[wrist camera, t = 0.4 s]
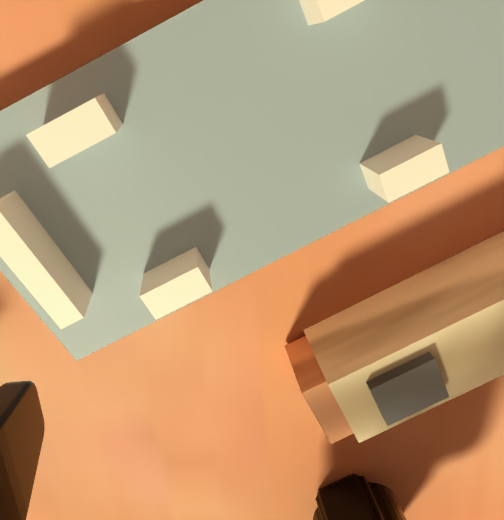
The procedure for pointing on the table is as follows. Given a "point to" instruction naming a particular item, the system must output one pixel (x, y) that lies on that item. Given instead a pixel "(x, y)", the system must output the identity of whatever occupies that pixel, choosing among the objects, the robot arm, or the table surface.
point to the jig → (234, 148)
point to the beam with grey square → (406, 346)
